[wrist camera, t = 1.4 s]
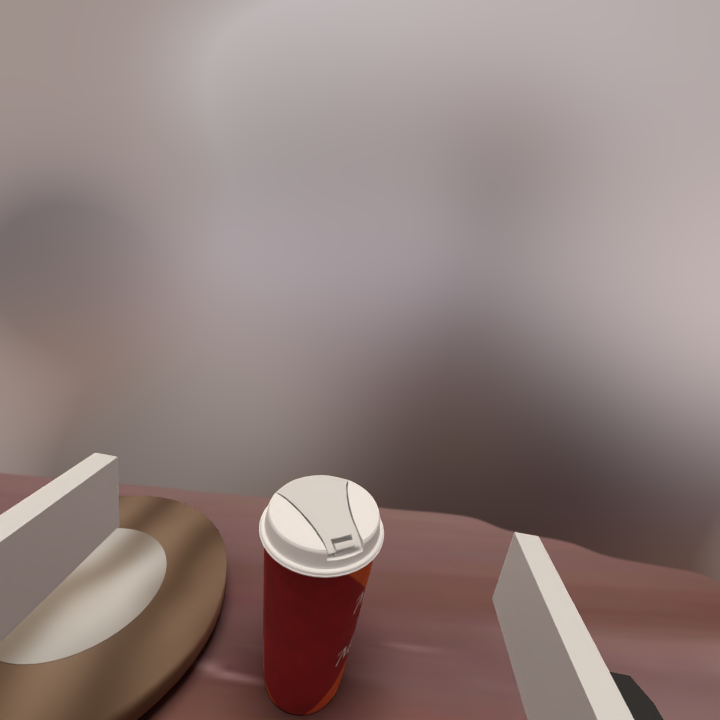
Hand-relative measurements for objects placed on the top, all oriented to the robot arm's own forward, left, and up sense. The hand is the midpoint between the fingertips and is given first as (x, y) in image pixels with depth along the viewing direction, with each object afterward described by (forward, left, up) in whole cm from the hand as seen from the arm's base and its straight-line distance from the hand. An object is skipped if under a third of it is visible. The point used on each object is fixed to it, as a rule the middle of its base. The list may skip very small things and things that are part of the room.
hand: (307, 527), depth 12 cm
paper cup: (0, -9, -20) cm, 22 cm away
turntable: (+17, -10, -19) cm, 28 cm away
